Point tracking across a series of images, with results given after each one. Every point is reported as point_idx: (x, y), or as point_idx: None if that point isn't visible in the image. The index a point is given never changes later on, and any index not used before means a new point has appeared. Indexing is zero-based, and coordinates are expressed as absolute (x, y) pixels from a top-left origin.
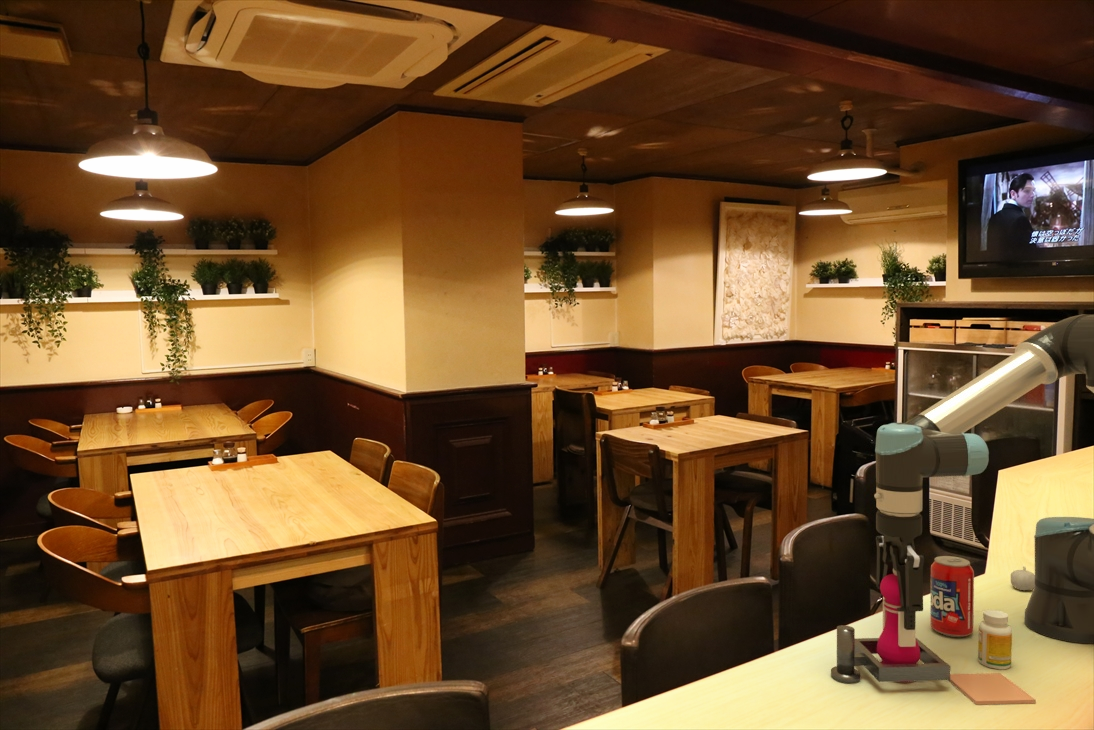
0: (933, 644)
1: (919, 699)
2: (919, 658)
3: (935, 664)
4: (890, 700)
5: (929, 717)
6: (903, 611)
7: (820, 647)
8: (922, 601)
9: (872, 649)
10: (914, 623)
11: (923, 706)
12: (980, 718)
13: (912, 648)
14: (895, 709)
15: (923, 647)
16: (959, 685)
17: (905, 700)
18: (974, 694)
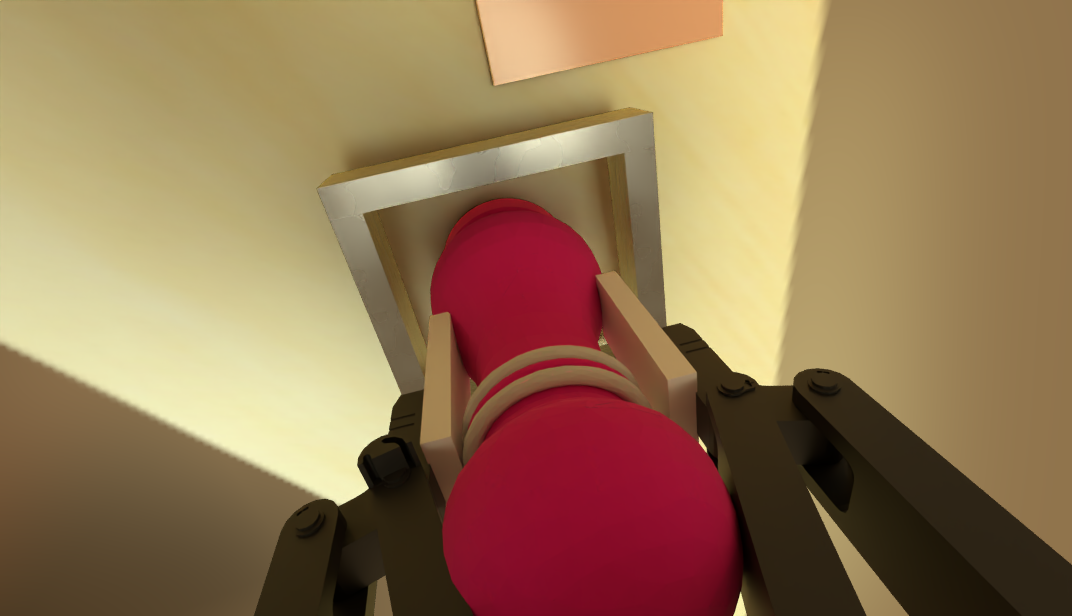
0: (71, 10)
1: (673, 227)
2: (562, 222)
3: (639, 176)
4: (679, 309)
5: (779, 225)
6: (696, 431)
7: (326, 456)
8: (893, 419)
9: (424, 354)
10: (704, 344)
11: (716, 226)
12: (804, 60)
13: (598, 274)
14: (729, 305)
15: (453, 181)
16: (594, 56)
17: (679, 270)
18: (669, 19)
